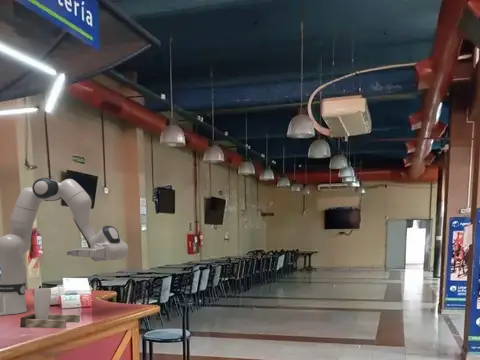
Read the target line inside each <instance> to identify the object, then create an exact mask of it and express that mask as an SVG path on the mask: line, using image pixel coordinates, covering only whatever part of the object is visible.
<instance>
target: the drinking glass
mask: <svg viewBox="0 0 480 360" xmlns="http://www.w3.org/2000/svg"><path fill="white" fill-rule="evenodd" d="M51 298H52V288H50V287H42V288H40V287H39V288H35V289H34V294H33V306H34V313H35V319H42V320H48V317H49V314H50V308H51V300H52V299H51Z"/></svg>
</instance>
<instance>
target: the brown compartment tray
mask: <svg viewBox="0 0 480 360" xmlns="http://www.w3.org/2000/svg"><path fill="white" fill-rule="evenodd" d="M80 322H81V315H80V314H64V313H63V314H61V313H60V314H58V313H57V314H53V313H52V314H51V313H49V317H48V320H42V319H35V312H34V313H31V314H27V315H24V316H21V317H20V322H19V323H20V328H38V327H39V328H43V329H44V328H45V329H47V328H49V329H65V328H66V327H67V323H80ZM39 328H38V329H39Z"/></svg>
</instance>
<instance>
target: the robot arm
mask: <svg viewBox="0 0 480 360" xmlns="http://www.w3.org/2000/svg"><path fill="white" fill-rule="evenodd" d="M60 199H62V200H63V201H64V202H65V204H67V206H68V207H69V210H70V211H71V214H72V217H73V221H74V223H75V225H76V227H77V228H78V230H79V232H80V233H81V235H82V236H83V238H84V240H85V242H86V244H87V247H88V248H85V247H83V248H82V247H81V248H72V249H71V250H67V251H66V256H71V257H78V258H79V257H81V258H90V259H91V260H93V261H94V262H103V261H117V260H121V259H124V258H126V256H127V255H128V253H129V245H128V243H126V242H125V241H124V240H122V238H121V236H120V234H119V231H118V229H117V228H115V227H114V226H111V225H104V226H103V227H101V229H100V230H99V231H98V232H97V233H96V232H95V230H94V229H93V227H92V226H91V224H90V221H89V217H90V211H91V209H92V199H91V196H90V195H89V194H88V193H87V191H86V190H85V189H84V188H83V187H82V185H80V184H79V183H78V182H77V181H76V180H74V179H72V178H66V179H64V180H63V181H61V182H60V181H57V180H55V179H52V178H49V177H41V178H38V179H36V180H35V181H34V182H33V184H32V187H31V186H29V187H25V188H22V190H21V192H20V193H19V195H18V197H17V199H16V201H15V205H14V207H13V210H12V212H11V216H10V220H9V222H10V223H9V224H10V228H9V234H5V235H2V236H1V237H0V316H7V315H14V314H15V315H17V314H22V313H25V312H28V307H27V304H26V297H25V294H26V285H27V284H26V266H25V263H24V258H23V255H24V254H26V253H27V252H28V251H29V250H30V248H31V246H32V241H31V239H32V234H33V233H32V232H33V226H34V224H35V220H36V218H37V214H38V211H39V207H40V205H41V203H42V202H53V201H58V200H60Z"/></svg>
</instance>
